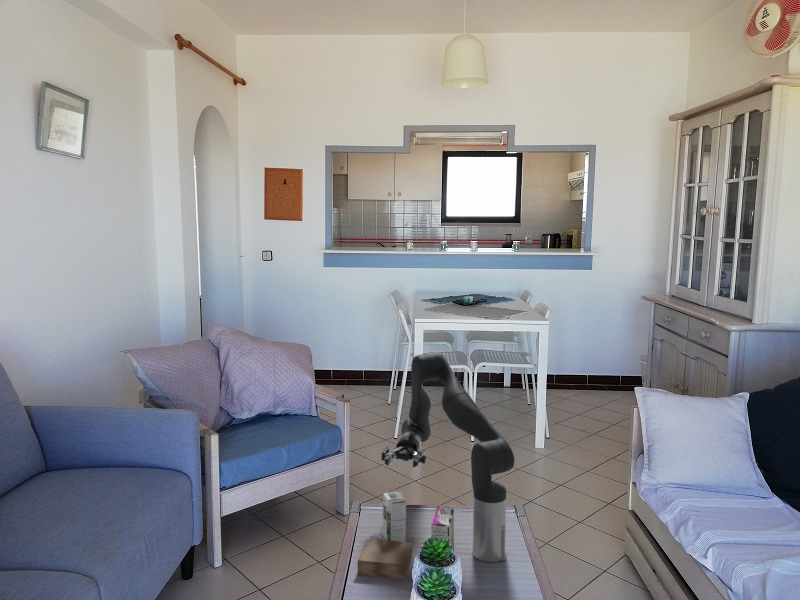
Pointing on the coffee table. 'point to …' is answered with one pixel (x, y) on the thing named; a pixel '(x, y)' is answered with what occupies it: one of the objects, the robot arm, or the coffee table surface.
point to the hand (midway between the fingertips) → (400, 463)
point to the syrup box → (394, 516)
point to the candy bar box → (444, 524)
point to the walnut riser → (385, 558)
